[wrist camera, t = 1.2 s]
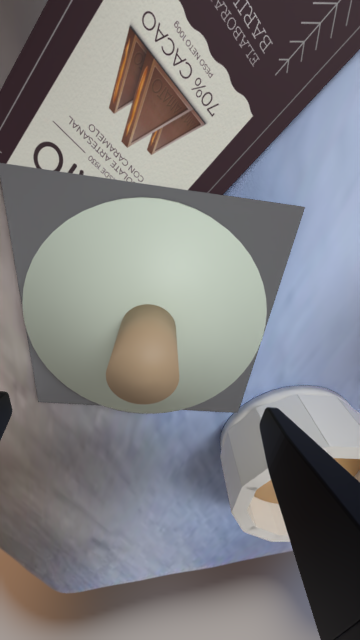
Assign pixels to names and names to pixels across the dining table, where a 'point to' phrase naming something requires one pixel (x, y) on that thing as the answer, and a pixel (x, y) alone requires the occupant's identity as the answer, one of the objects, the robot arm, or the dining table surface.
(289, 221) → the mat
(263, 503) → the bowl
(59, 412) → the dining table surface
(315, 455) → the robot arm
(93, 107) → the chocolate bar
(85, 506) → the dining table surface
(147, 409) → the lid
